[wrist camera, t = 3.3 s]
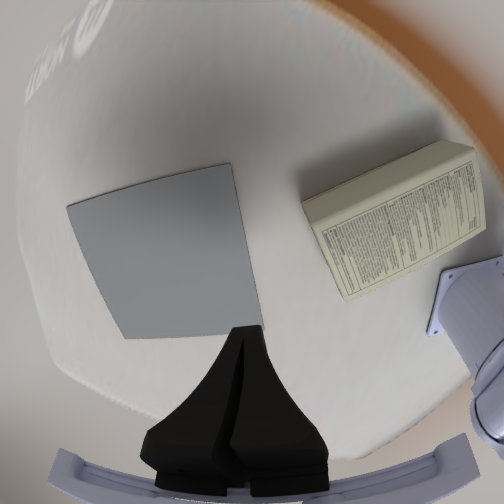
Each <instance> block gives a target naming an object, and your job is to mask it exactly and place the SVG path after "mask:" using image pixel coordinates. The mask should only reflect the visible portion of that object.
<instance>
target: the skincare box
mask: <svg viewBox="0 0 504 504" xmlns="http://www.w3.org/2000/svg"><path fill="white" fill-rule="evenodd" d="M301 204H302V208H303V210H304V213H305V215H306V217H307V219H308V222H309V224H310V226H311V228H312V230H313V232H314V235H315V237H316V239H317V241H318V243H319V246H320V248H321V250H322V253H323V255H324V257H325V259H326V262H327V264H328V266H329V268H330V271H331V273H332V275H333V278H334V280H335V283H336V285H337V287H338V290H339V292H340V294H341V296H342V297H343V299H344V301H345V302H349V301H351V300H353V299H356V298H358V297H360V296H362V295H365V294H367V293H369V292H371V291H373V290H375V289H377V288H379V287H381V286H383V285H385V284H387V283H389V282H392V281H393V280H395V279H397V278H399V277H402V276H404V275H405V274H407V273H409V272H411V271H413V270H415V269H417V268H419V267H421V266H423V265H425V264H426V263H428V262H430V261H432V260H434V259H436V258H437V257H439V256H441V255H443V254H445V253H446V252H448V251H450V250H452V249H453V248H455V247H457V246H459V245H460V244H462V243H463V242H465V241H467V240H468V239H470V238H472V237H473V236H475V235H477V234H478V233H480V232H482V231H483V230H485V229H486V222H485V207H484V196H483V188H482V182H481V176H480V170H479V165H478V160H477V155H476V150H475V149H474V148H473V147H470V146H466V145H463V144H458V143H454V142H449V141H444V140H439V141H437V142H435V143H432V144H430V145H428V146H426V147H423V148H421V149H419V150H416V151H414V152H412V153H409V154H407V155H405V156H403V157H400V158H398V159H396V160H393V161H391V162H389V163H387V164H385V165H382V166H380V167H378V168H376V169H373V170H371V171H369V172H367V173H365V174H363V175H360V176H358V177H356V178H354V179H351V180H349V181H347V182H345V183H343V184H341V185H338V186H336V187H334V188H332V189H330V190H328V191H325V192H323V193H321V194H319V195H316V196H314V197H312V198H310V199H308V200H306V201H304V202H302V203H301Z"/></svg>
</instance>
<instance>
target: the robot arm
mask: <svg viewBox="0 0 504 504" xmlns="http://www.w3.org/2000/svg"><path fill="white" fill-rule="evenodd" d="M449 275H450V276H449ZM444 332H446V333H447V334H448V336H449V338H450V339H451V341H452V342H453V344H454V345H455V347H456V349H457V350H458V352H459V354H460V355H461V357H462V359H463V360H464V362H465V364H466V365H467V367H468V369H469V371H470V372H471V374H472V376H473V378H474V380H475V383H474V384H473V385H472V387H471V390H472V392H473V394H474V397H473V399H472V401H471V405H470V415H471V422H472V425H473V428H474V430H475V432H476V433H477V435H478V436H479V437H480V438H481V439H482V440H483V441H484V442H486V443H488V444H489V445H490V446H491V447H492V448H493V449H494V450H495V451H496V452H497V454H498V455H499V457H500V459H501V460H503V461H504V257H503V256H500V257H497V258H493V259H490V260H486V261H482V262H478V263H474V264H470V265H466V266H462V267H458V268H454V269H450V270H446V271H444V272H443V273H442V274H441V278H440V283H439V288H438V292H437V297H436V301H435V305H434V309H433V313H432V316H431V320H430V324H429V327H428V331H427V335H428V336H429V337H431V336H434V335H438V334H441V333H444ZM328 455H329V453H328V449H327V446H326V444H325V442H324V440H323V439H322V437H321V435H320V434H319V432H318V430H317V428H316V427H315V426H314V425H313V424H312V423H311V422H310V420H309V419H308V418H307V417H306V416H305V415H304V414H303V412H302V411H301V410H300V409H299V408H298V406H297V405H296V403H295V402H294V401H293V399H292V398H291V397H290V395H289V394H288V392H287V391H286V389H285V388H284V386H283V384H282V383H281V381H280V379H279V377H278V376H277V374H276V372H275V370H274V368H273V366H272V363H271V361H270V359H269V356H268V354H267V349H266V344H265V339H264V335H263V330H262V326H261V325H250V326H240V327H233V328H232V329H231V331H230V333H229V336H228V338H227V340H226V342H225V344H224V346H223V348H222V350H221V351H220V353H219V355H218V357H217V358H216V360H215V362H214V363H213V365H212V367H211V368H210V370H209V371H208V373H207V374H206V376H205V377H204V378H203V380H202V381H201V382H200V384H199V385H198V386H197V387H196V389H195V390H194V391H193V392H192V393H191V394H190V395H189V396H188V398H187V399H186V400H185V401H184V402H183V403H182V404H181V405H180V406H179V407H177V408H176V409H175V410H174V411H173V412H172V413H171V414H170V415H168V416H167V417H166V418H165V419H163V420H162V421H161V422H159V423H158V424H156V425H155V426H154V427H152V428H151V429H149V430H148V431H147V434H146V436H145V438H144V441H143V445H142V449H141V453H140V458H141V459H142V460H143V461H144V462H145V463H146V464H148V465H149V466H150V467H152V468H153V469H154V470H156V471H157V475H156V479H155V480H153V479H148V478H143V477H139V476H135V475H130V474H126V473H123V472H119V471H115V470H112V469H108V468H104V467H101V466H98V465H95V464H92V463H89V462H86V461H84V459H82V458H81V457H79V456H78V455H76V454H74V453H72V452H69V451H67V450H64V449H62V448H59V451H58V453H57V455H56V458H55V461H54V463H53V466H52V469H51V471H50V475H49V477H48V480H47V483H48V484H50V485H52V486H54V487H55V488H57V489H59V490H61V491H62V492H64V493H66V494H68V495H71V496H72V497H74V498H76V499H78V500H80V501H83V502H85V503H87V504H211V503H201V502H192V501H184V500H177V499H175V498H180V499H187V500H194V501H204V502H215V503H232V504H269V503H285V502H286V503H287V502H298V501H303V502H302V504H431V503H433V502H435V501H438V500H440V499H442V498H444V497H446V496H448V495H450V494H452V493H454V492H456V491H458V490H459V489H461V488H463V487H465V486H466V485H468V484H470V483H471V482H473V481H474V480H476V479H478V478H479V477H480V472H479V469H478V466H477V463H476V460H475V457H474V454H473V452H472V449H471V446H470V444H469V441H468V438H467V436H466V433H462V434H460V435H458V436H456V437H454V438H452V439H450V440H447V441H445V442H443V443H442V444H440V445H438V446H437V447H436V448H435V450H434V451H433V452H430V453H428V454H425V455H423V456H421V457H418V458H415V459H412V460H409V461H407V462H404V463H401V464H398V465H395V466H392V467H389V468H385V469H381V470H378V471H374V472H370V473H366V474H363V475H358V476H354V477H349V478H345V479H340V480H334V481H329V477H328V464H327V461H328ZM167 496H168V497H167ZM171 497H173V498H171Z"/></svg>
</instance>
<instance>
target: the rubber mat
mask: <svg viewBox="0 0 504 504" xmlns="http://www.w3.org/2000/svg"><path fill="white" fill-rule="evenodd" d="M66 210H67V213H68V216H69V219H70V222H71V224H72V227H73V230H74V233H75V235H76V238H77V240H78V243H79V246H80V248H81V251H82V253H83V255H84V258H85V260H86V262H87V265H88V267H89V269H90V272H91V274H92V276H93V278H94V280H95V282H96V285H97V287H98V289H99V291H100V293H101V295H102V297H103V299H104V301H105V303H106V305H107V307H108V309H109V311H110V313H111V315H112V316H113V318H114V320H115V322H116V324H117V326H118V327H119V329H120V331H121V333H122V334H123V336H124V338H125V339H155V338H179V337H196V336H210V335H223V334H229V333H230V331H231V329H232V328H233V327H240V326H250V325H261V326H262V330H264V325H263V320H262V315H261V310H260V305H259V301H258V296H257V291H256V286H255V281H254V276H253V272H252V267H251V262H250V257H249V252H248V247H247V243H246V238H245V233H244V228H243V223H242V218H241V213H240V208H239V203H238V199H237V194H236V189H235V184H234V179H233V174H232V169H231V164H230V163H229V164H224V165H219V166H214V167H209V168H204V169H200V170H195V171H191V172H186V173H182V174H178V175H173V176H169V177H165V178H161V179H157V180H154V181H150V182H146V183H142V184H139V185H135V186H131V187H128V188H124V189H121V190H118V191H114V192H111V193H108V194H105V195H101V196H98V197H95V198H92V199H89V200H86V201H83V202H80V203H77V204H74V205H71V206H69V207H66Z"/></svg>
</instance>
